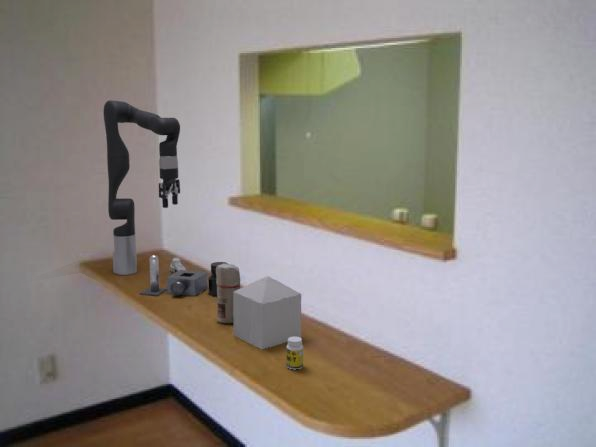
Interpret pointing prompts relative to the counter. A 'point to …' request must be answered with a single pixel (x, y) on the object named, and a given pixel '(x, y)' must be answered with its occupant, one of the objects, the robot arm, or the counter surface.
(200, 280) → the block
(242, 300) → the decorative block
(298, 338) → the supplement bottle
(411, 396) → the counter surface
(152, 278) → the grey metal cylinder
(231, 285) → the spray can
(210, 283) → the ink bottle
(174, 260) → the white elongated piece
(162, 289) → the key rest mat
